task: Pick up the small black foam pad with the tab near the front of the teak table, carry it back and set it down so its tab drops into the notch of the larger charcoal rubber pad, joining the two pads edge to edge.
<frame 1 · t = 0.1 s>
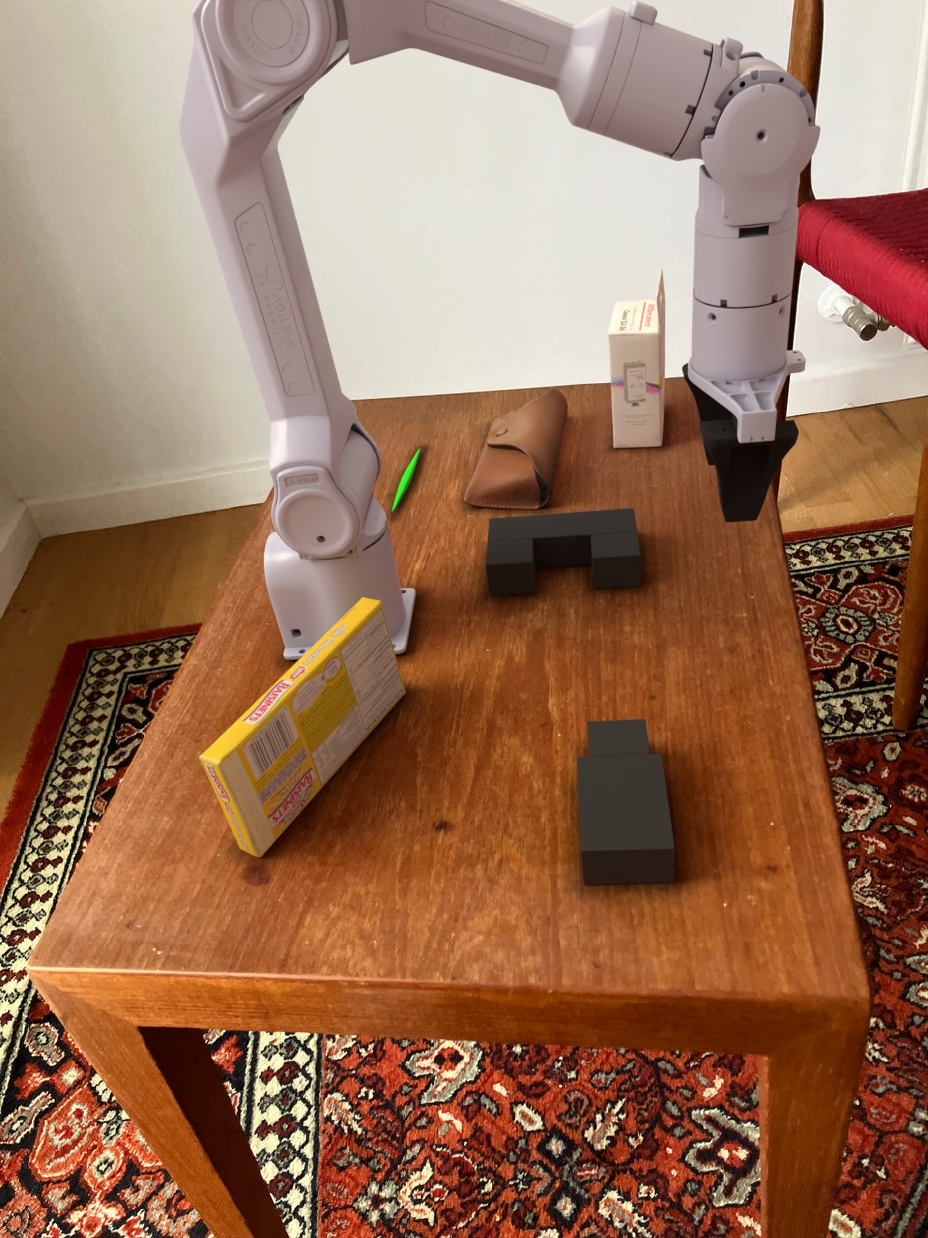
hand: (731, 489, 65), 10 cm above the table, tool pointing down, fingers open, 7 cm apart
ink cartridge box: (639, 430, 95), on the table
green spindle: (407, 483, 93), on the table
notch pad: (563, 566, 78), on the table
sunglasses case: (519, 464, 93), on the table
candy box: (328, 767, 63), on the table
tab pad: (624, 834, 55), on the table
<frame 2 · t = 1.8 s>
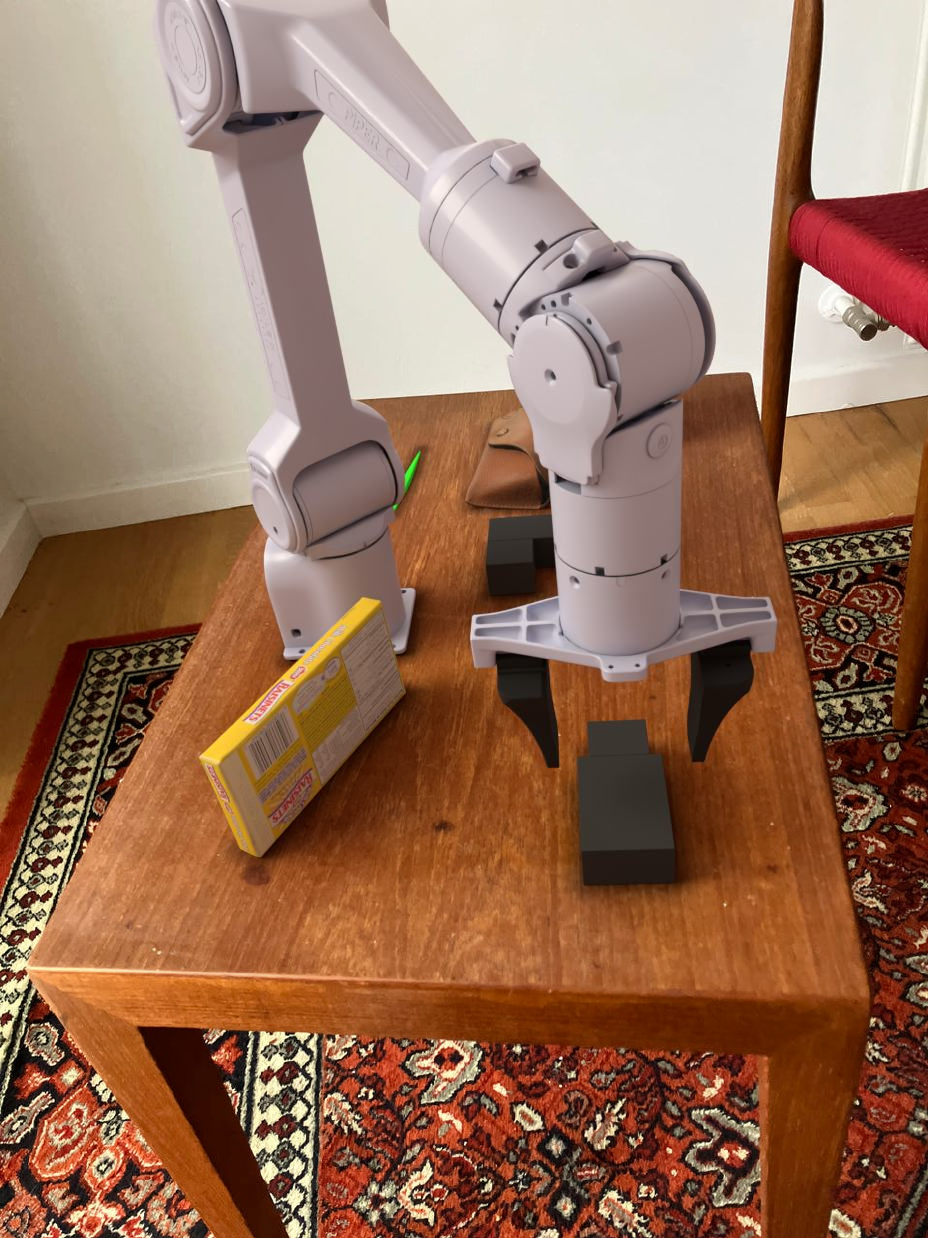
hand: (623, 751, 51), 7 cm above the table, tool pointing down, fingers open, 7 cm apart
nothing on the table moved.
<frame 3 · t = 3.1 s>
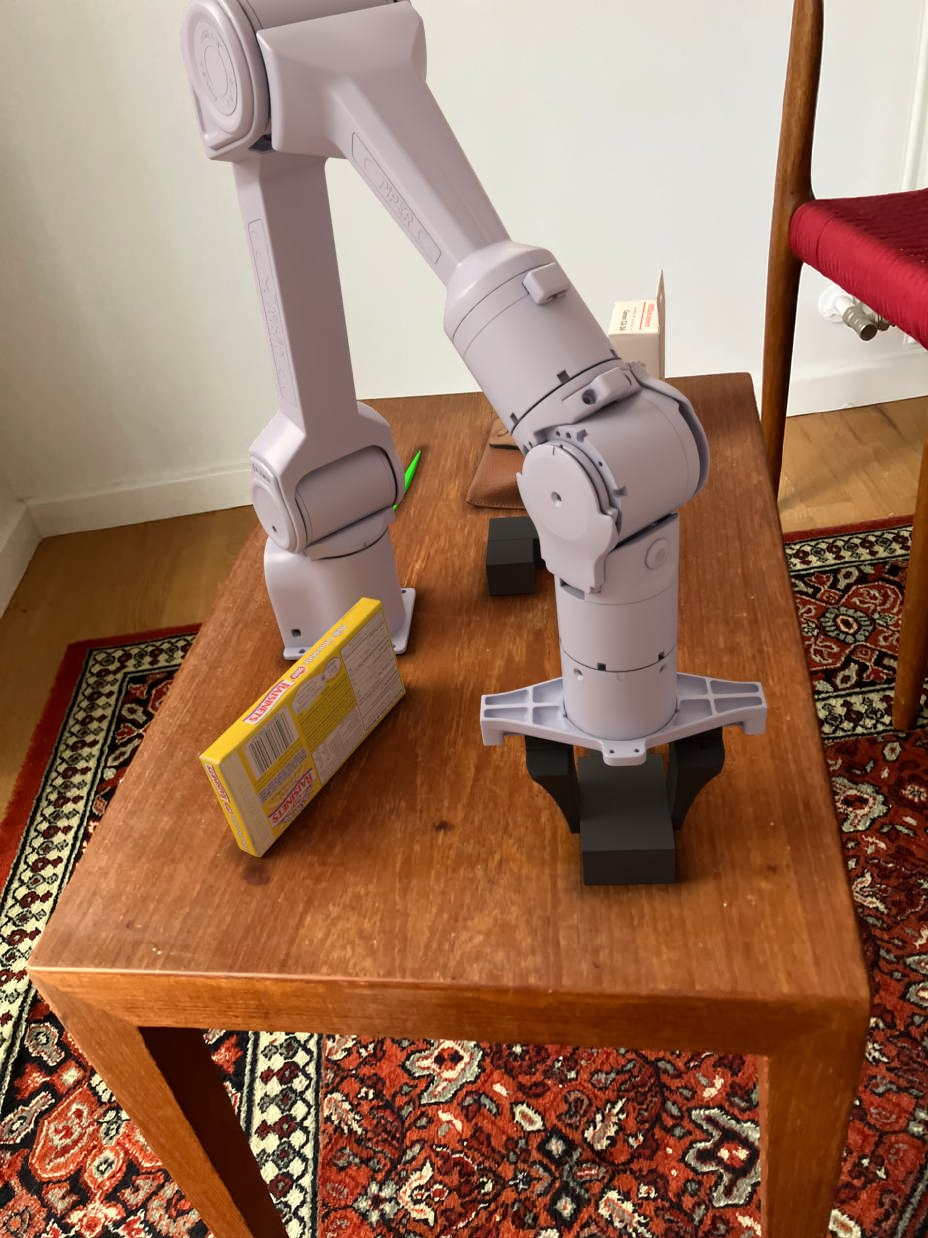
hand: (623, 818, 54), 1 cm above the table, tool pointing down, fingers closed on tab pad, 5 cm apart
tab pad: (624, 834, 55), on the table, touching gripper
everything else where it was.
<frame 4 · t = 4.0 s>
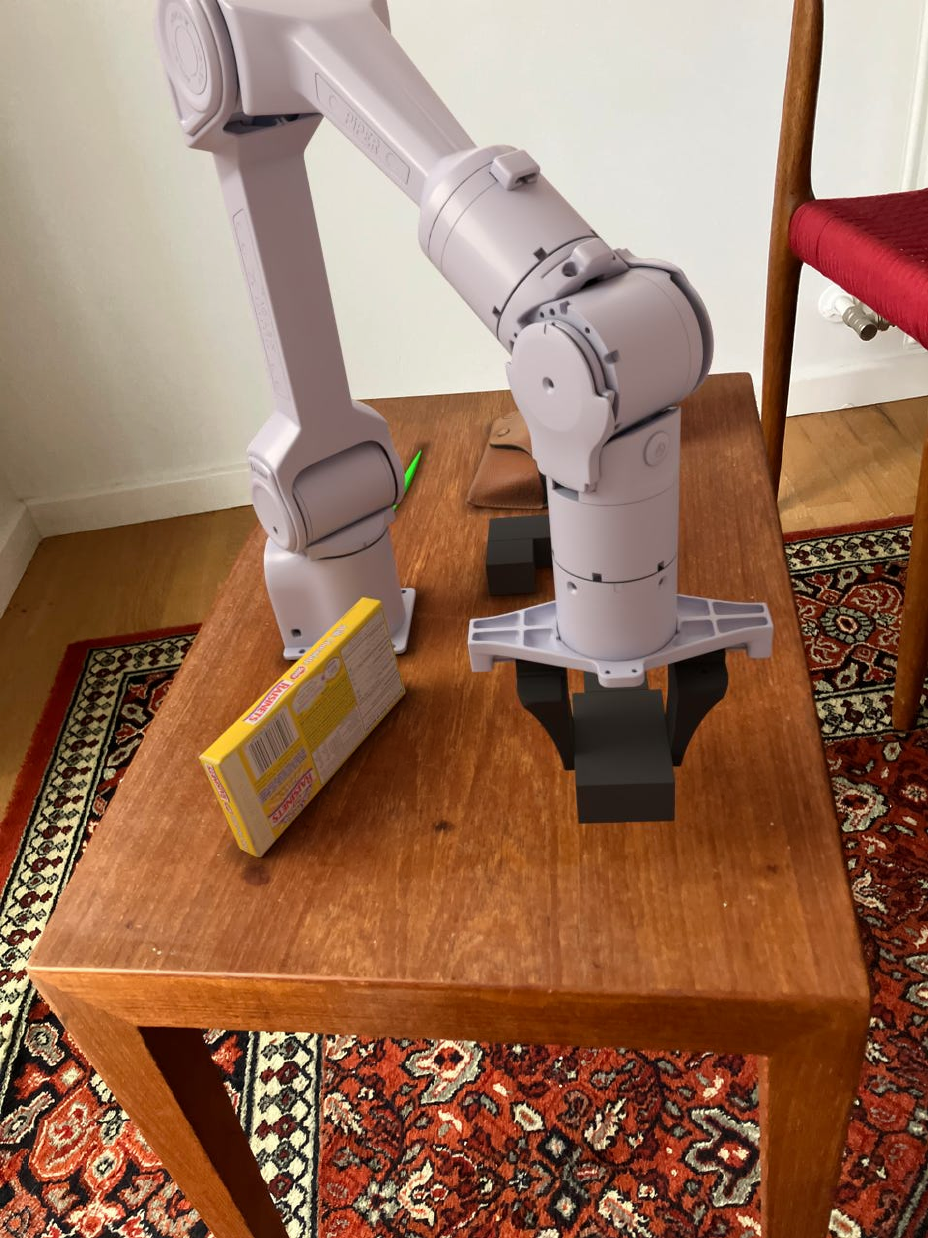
hand: (620, 755, 51), 6 cm above the table, tool pointing down, fingers closed on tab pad, 5 cm apart
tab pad: (621, 773, 52), point 5 cm above the table, touching gripper
everything else where it was.
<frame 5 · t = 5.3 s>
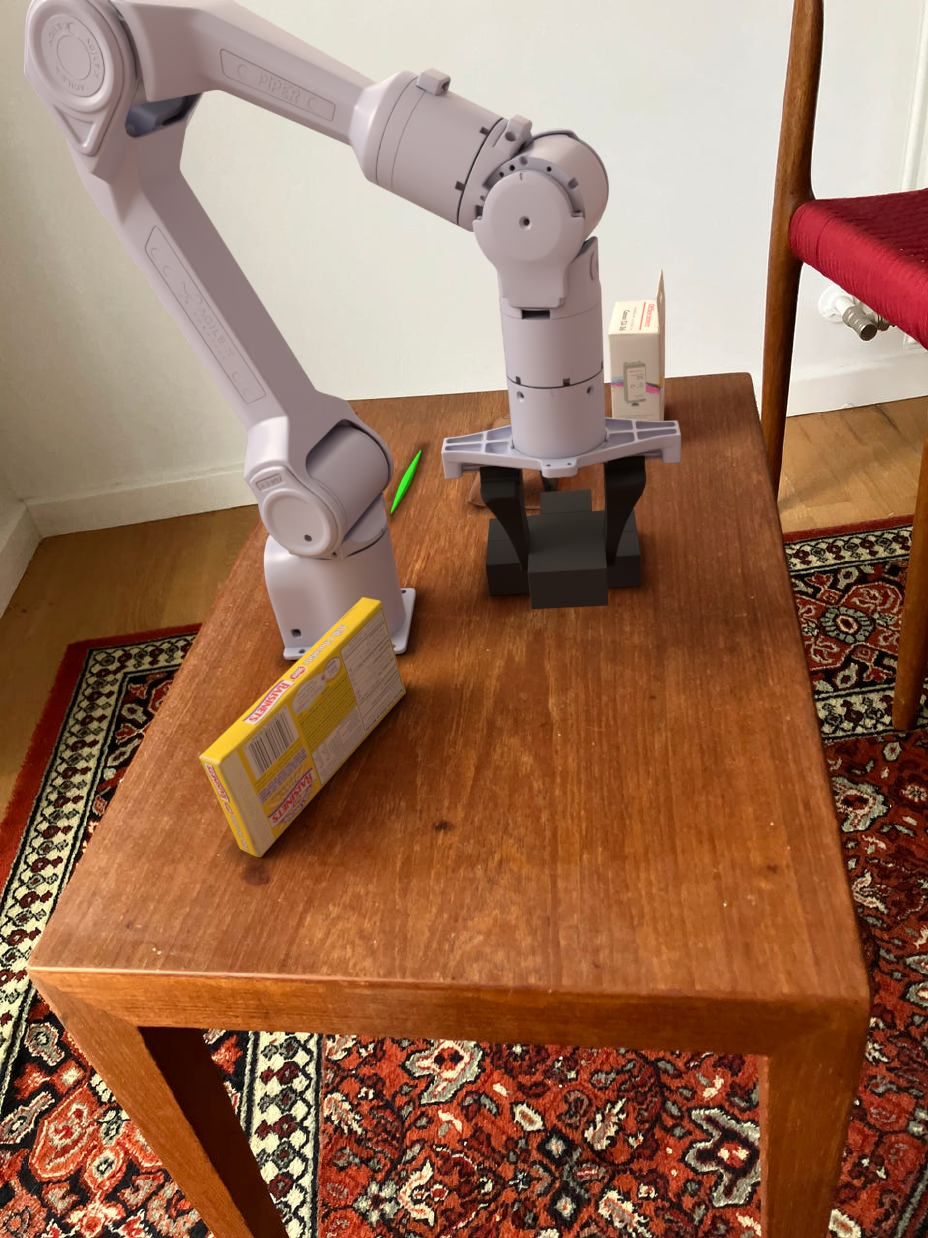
hand: (567, 560, 63), 8 cm above the table, tool pointing down, fingers closed on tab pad, 5 cm apart
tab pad: (568, 576, 64), point 7 cm above the table, touching gripper
everything else where it was.
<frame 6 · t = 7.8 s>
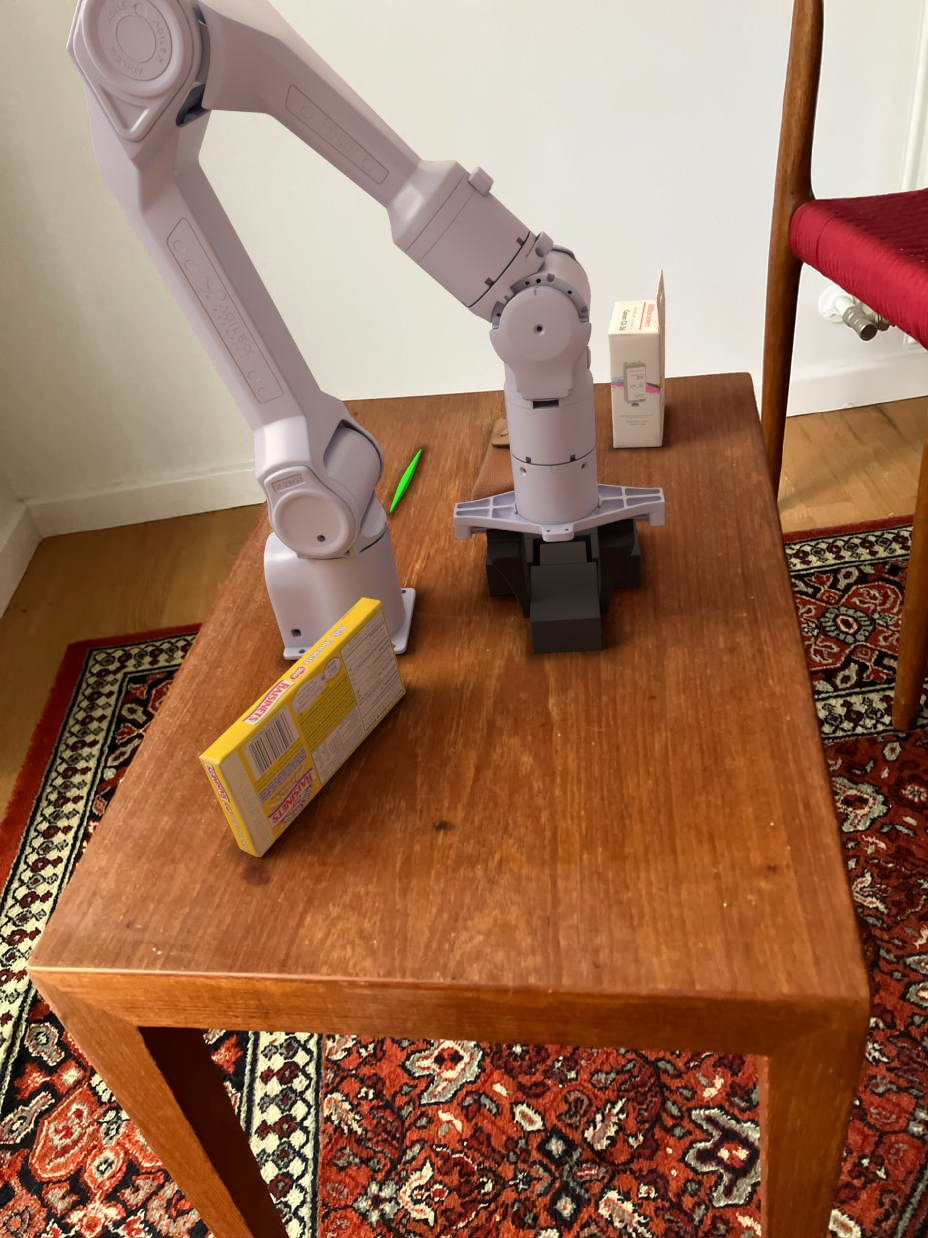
hand: (565, 608, 71), 1 cm above the table, tool pointing down, fingers closed on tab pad, 5 cm apart
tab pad: (566, 622, 72), on the table, touching gripper
everything else where it was.
when the fingers open (1 cm above the table, at t = 8.0 s): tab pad stays where it is, on the table.
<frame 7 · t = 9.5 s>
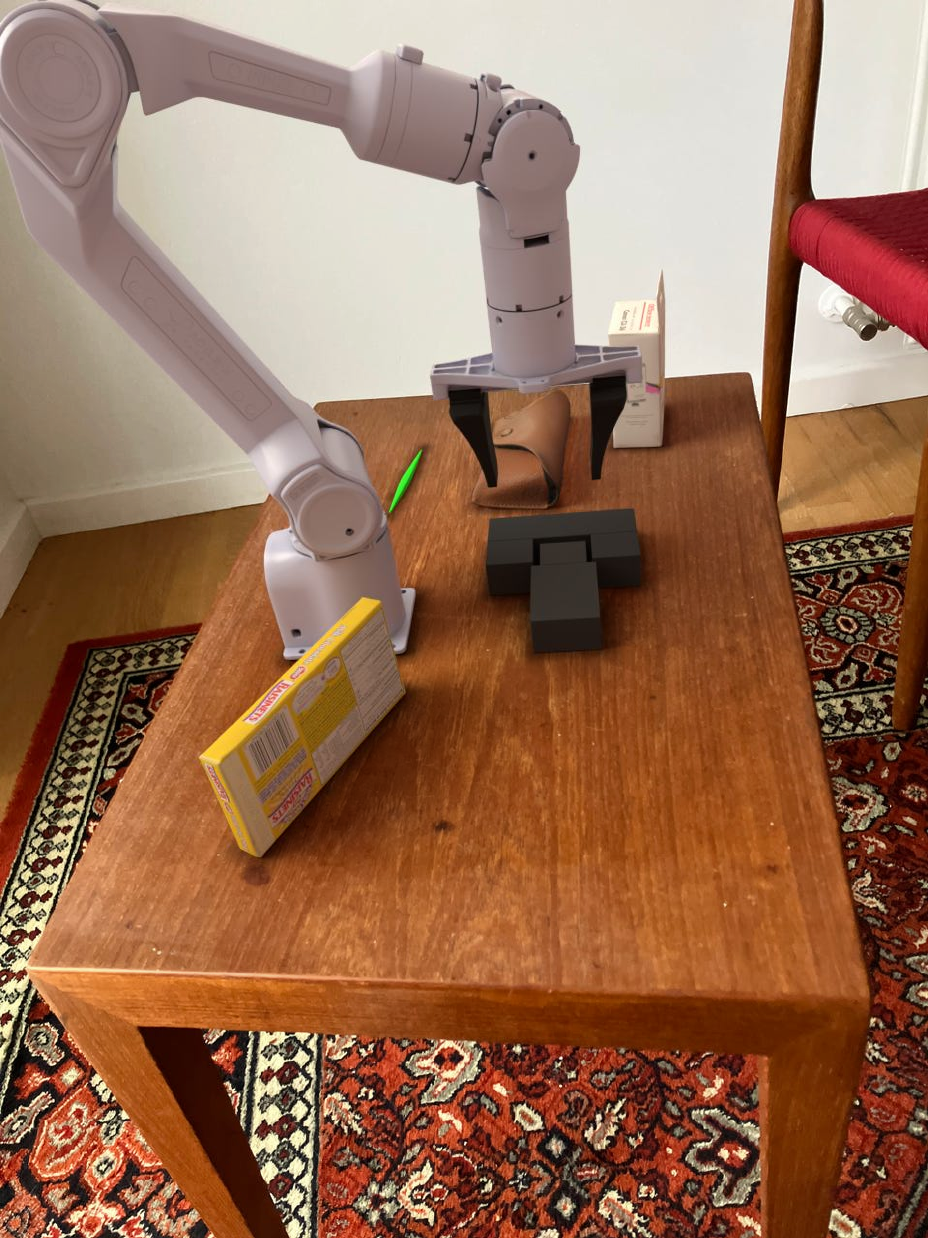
hand: (544, 477, 71), 9 cm above the table, tool pointing down, fingers open, 7 cm apart
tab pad: (566, 622, 72), on the table
everything else where it was.
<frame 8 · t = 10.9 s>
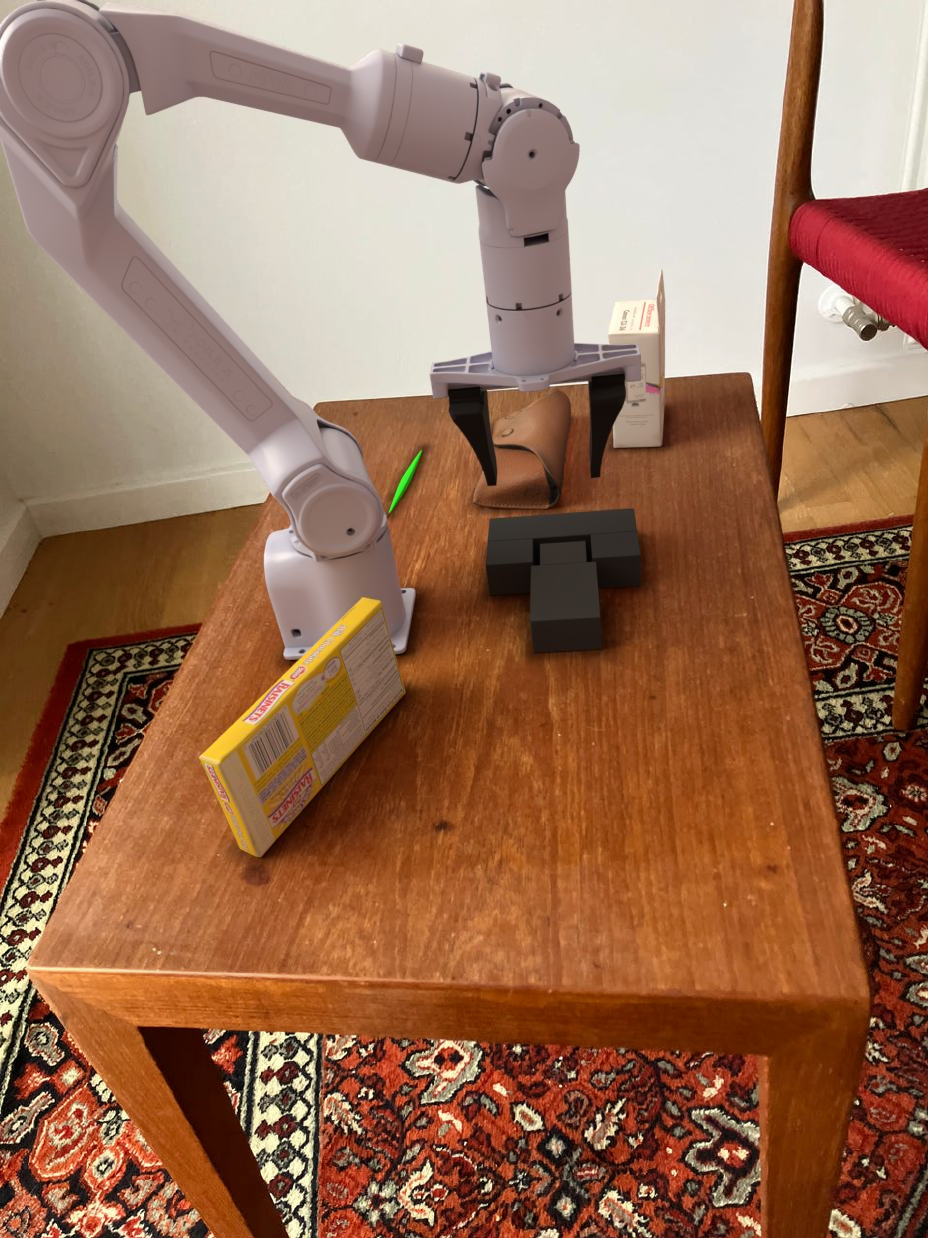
hand: (543, 475, 71), 9 cm above the table, tool pointing down, fingers open, 7 cm apart
nothing on the table moved.
at the end: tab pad 0.1 cm from the target spot on the table beside the notch pad, on the table; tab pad tilted 0°; the gripper is holding nothing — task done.
